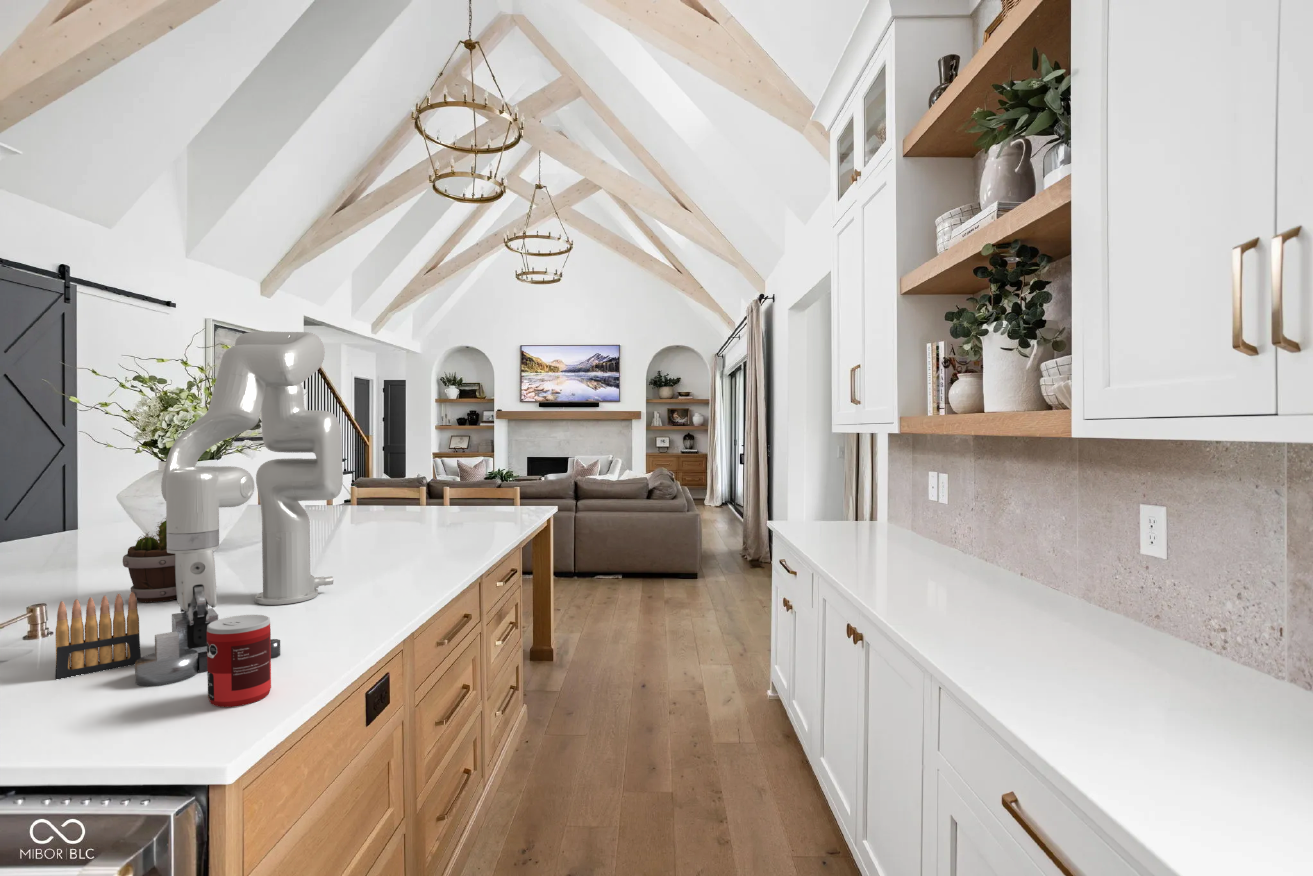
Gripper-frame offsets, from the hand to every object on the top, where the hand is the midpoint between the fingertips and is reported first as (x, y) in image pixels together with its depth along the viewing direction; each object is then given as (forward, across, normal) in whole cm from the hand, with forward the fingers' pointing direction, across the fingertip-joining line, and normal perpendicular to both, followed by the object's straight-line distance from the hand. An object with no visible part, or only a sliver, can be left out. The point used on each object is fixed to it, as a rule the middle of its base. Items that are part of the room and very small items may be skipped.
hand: (194, 640), depth 119 cm
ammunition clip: (+2, 0, +13) cm, 13 cm away
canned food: (+2, -28, -2) cm, 28 cm away
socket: (+2, 0, 0) cm, 2 cm away
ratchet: (+2, -11, -1) cm, 11 cm away
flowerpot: (+2, +50, 0) cm, 50 cm away
